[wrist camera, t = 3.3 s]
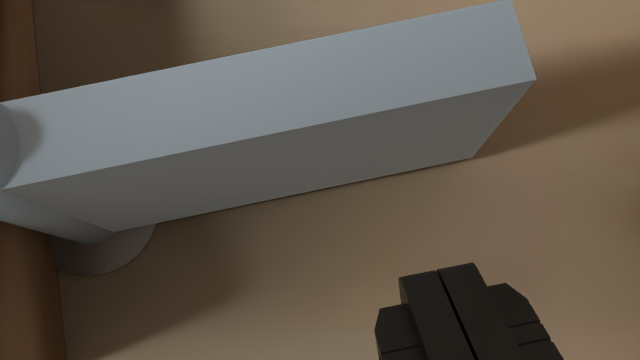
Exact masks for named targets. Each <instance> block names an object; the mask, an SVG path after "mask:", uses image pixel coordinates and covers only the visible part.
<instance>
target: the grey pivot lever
mask: <svg viewBox="0 0 640 360" xmlns="http://www.w3.org/2000/svg"><path fill="white" fill-rule="evenodd" d="M536 80H537V78H536V75H535V72H534V69H533V66H532V62H531V59H530V56H529V53H528V50H527V47H526V43H525V40H524V37H523V34H522V31H521V28H520V24H519V21H518V18H517V15H516V12H515V9H514V5H513V2H512V0H501V1H496V2H491V3H486V4H481V5H476V6H471V7H467V8H462V9H457V10H452V11H447V12H442V13H437V14H432V15H427V16H422V17H418V18H413V19H408V20H403V21H398V22H393V23H388V24H383V25H378V26H373V27H368V28H364V29H359V30H354V31H349V32H344V33H339V34H334V35H329V36H324V37H319V38H315V39H310V40H305V41H300V42H295V43H290V44H285V45H280V46H275V47H270V48H266V49H261V50H256V51H251V52H246V53H241V54H236V55H231V56H226V57H221V58H217V59H212V60H207V61H202V62H197V63H192V64H187V65H182V66H177V67H172V68H168V69H163V70H158V71H153V72H148V73H143V74H138V75H133V76H128V77H123V78H118V79H114V80H109V81H104V82H99V83H94V84H89V85H84V86H79V87H74V88H69V89H65V90H60V91H55V92H50V93H45V94H40V95H35V96H30V97H25V98H20V99H16V100H11V101H6V102H1V103H0V221H4V222H7V223H11V224H14V225H18V226H22V227H25V228H29V229H32V230H36V231H39V232H43V233H46V234H50V235H53V236H57V237H60V238H64V239H68V240H71V241H75V242H78V243H82V244H94V243H98V242H101V241H104V240H106V239H108V238H109V237H111V236H112V235H113V234H114V233H115V232H117V231H121V230H126V229H131V228H136V227H141V226H145V225H150V224H155V223H160V222H165V221H170V220H174V219H179V218H184V217H189V216H194V215H198V214H203V213H208V212H213V211H218V210H223V209H227V208H232V207H237V206H242V205H247V204H252V203H256V202H261V201H266V200H271V199H276V198H280V197H285V196H290V195H295V194H300V193H305V192H309V191H314V190H319V189H324V188H329V187H334V186H338V185H343V184H348V183H353V182H358V181H362V180H367V179H372V178H377V177H382V176H387V175H391V174H396V173H401V172H406V171H411V170H415V169H420V168H425V167H430V166H435V165H440V164H444V163H449V162H454V161H459V160H464V159H469V158H472V157H473V156H474V155H475V154H476V152H477V151H478V150H479V149H480V148H481V146H482V145H483V144H484V143H485V141H486V140H487V139H488V138H489V137H490V135H491V134H492V133H493V132H494V131H495V129H496V128H497V127H498V126H499V125H500V123H501V122H502V121H503V120H504V118H505V117H506V116H507V115H508V114H509V112H510V111H511V110H512V109H513V108H514V106H515V105H516V104H517V103H518V101H519V100H520V99H521V98H522V97H523V95H524V94H525V93H526V92H527V91H528V89H529V88H530V87H531V86H532V85H533V83H534V82H535V81H536Z"/></svg>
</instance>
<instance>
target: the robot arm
mask: <svg viewBox="0 0 640 360" xmlns="http://www.w3.org/2000/svg"><path fill="white" fill-rule="evenodd" d="M399 289H400V297H401V305H396V306H391V307H386V308H381V309H380V310H379V314H378V318H377V322H376V326H375V336H376V342H377V349H378V355H379V360H564V359H563V358H562V356H561V354H560V353H559V351H558V349H557V348H556V346H555V344H554V343H553V342H551V339H550V336H549V334H548V333H547V331H546V329H545V328H544V326H543V324H541V323H540V320H539V318H538V316H537V315H536V313H535V311H534V310H533V308H532V306H531V305H530V303H529V301H528V300H527V299H526V298H525V297H524V296H522V295H521V294H520V293H518V292H517V291H516V290H514V289H513V288H512V287H510V286H509V285H508V284H506V283H503V284H498V285H493V286H488V287H487V286H486V284H485V282H484V280H483V278H482V276H481V274H480V273H479V271H478V269H477V267H476V266H475V264H474V263H467V264H462V265H458V266H453V267H448V268H443V269H438V270H436V272H435V271H429V272H424V273H419V274H414V275H409V276H404V277H399Z"/></svg>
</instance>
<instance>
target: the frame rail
mask: <svg viewBox="0 0 640 360" xmlns="http://www.w3.org/2000/svg"><path fill="white" fill-rule="evenodd" d="M35 95H40V85H39V74H38V64H37V53H36V43H35V32H34V22H33V11H32V1H31V0H0V103H1V102H6V101H11V100H16V99H20V98H25V97H30V96H35ZM156 225H157V223H155V224H150V225H145V226H141V227H136V228H131V229H126V230H121V231H117V232H115V233H114V234H113V235H112V236H111V237H109V238H108V239H106V240H104V241H101V242H98V243H94V244H82V243H78V242H75V241H71V240H68V239H64V238H60V237H57V236H53V235H50V234H46V233H43V232H39V231H36V230H32V229H29V228H25V227H22V226H18V225H14V224H11V223H7V222H4V221H0V360H66V357H65V347H64V336H63V326H62V315H61V305H60V294H59V284H58V273H57V268H58V269H60V270H63V271H65V272H68V273H72V274H77V275H85V276H94V275H101V274H105V273H109V272H112V271H114V270H117V269H119V268H121V267H123V266H124V265H126V264H128V263H129V262H130V261H132V260H133V259H134V258H135V257H136V256H137V255H138V254H140V253H141V251H142V250H143V249H144V248H145V246H146V245H147V244H148V242H149V240H150V239H151V237H152V235H153V233H154V231H155V228H156Z"/></svg>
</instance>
